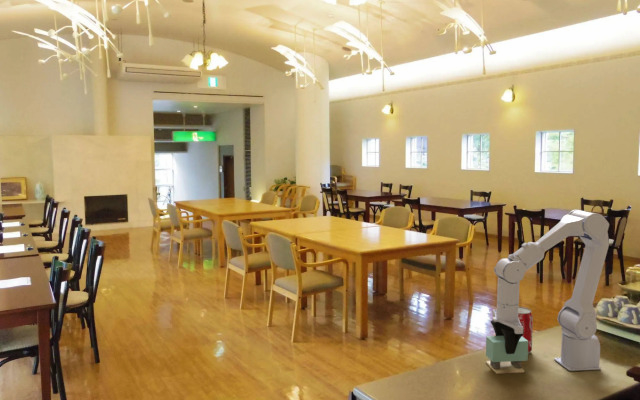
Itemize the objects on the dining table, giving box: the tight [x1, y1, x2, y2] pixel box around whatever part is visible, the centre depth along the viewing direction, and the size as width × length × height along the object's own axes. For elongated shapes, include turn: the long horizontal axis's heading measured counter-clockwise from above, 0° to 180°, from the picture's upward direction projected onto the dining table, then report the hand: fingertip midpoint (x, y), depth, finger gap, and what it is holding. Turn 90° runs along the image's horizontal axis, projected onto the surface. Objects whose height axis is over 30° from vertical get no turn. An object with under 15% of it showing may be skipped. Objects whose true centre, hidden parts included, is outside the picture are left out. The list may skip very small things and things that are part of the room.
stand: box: [485, 359, 525, 375], centre depth 145 cm, size 8×7×3 cm
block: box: [485, 335, 529, 362], centre depth 144 cm, size 10×5×6 cm, turn 96°
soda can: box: [518, 306, 534, 355], centre depth 156 cm, size 7×7×13 cm
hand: (506, 349), depth 144 cm, fingers closed on block, 5 cm apart
